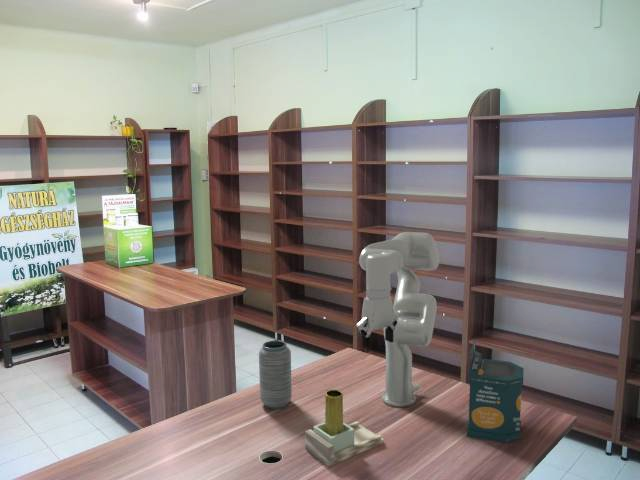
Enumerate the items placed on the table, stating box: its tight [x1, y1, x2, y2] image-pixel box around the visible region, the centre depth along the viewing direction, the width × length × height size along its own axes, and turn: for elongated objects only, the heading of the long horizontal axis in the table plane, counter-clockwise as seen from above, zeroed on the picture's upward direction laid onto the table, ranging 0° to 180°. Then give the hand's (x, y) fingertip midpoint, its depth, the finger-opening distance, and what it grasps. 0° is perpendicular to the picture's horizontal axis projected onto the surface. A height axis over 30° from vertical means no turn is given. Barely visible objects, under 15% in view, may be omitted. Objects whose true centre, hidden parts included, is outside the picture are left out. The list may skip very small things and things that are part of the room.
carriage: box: [312, 421, 354, 454], centre depth 167 cm, size 9×9×6 cm
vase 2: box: [324, 389, 344, 437], centre depth 166 cm, size 6×6×14 cm
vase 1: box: [258, 340, 293, 410], centre depth 197 cm, size 12×12×23 cm
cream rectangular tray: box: [304, 420, 385, 467], centre depth 170 cm, size 22×12×6 cm, turn 126°
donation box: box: [466, 338, 525, 444], centre depth 177 cm, size 16×16×28 cm
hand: (378, 344), depth 173 cm, fingers open, 9 cm apart
